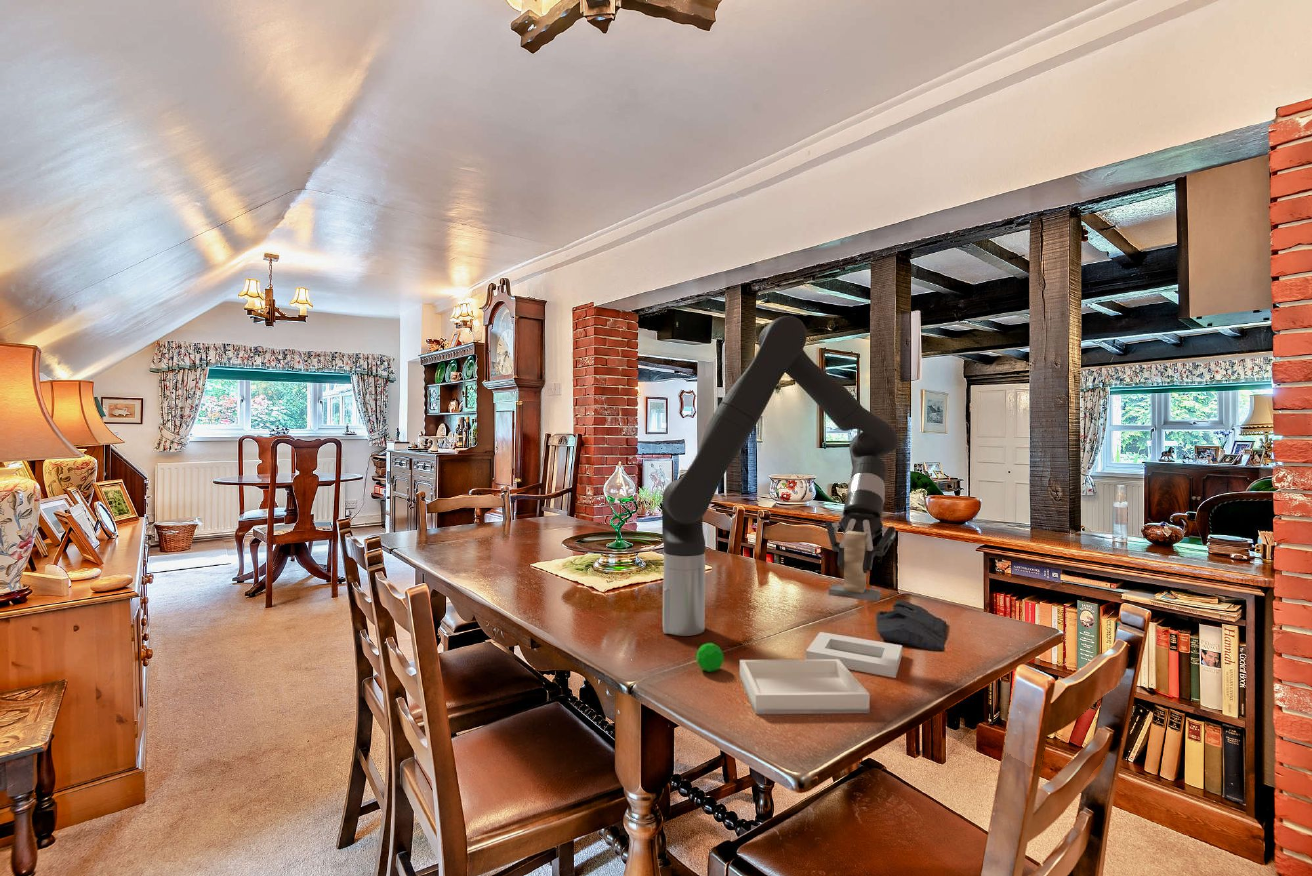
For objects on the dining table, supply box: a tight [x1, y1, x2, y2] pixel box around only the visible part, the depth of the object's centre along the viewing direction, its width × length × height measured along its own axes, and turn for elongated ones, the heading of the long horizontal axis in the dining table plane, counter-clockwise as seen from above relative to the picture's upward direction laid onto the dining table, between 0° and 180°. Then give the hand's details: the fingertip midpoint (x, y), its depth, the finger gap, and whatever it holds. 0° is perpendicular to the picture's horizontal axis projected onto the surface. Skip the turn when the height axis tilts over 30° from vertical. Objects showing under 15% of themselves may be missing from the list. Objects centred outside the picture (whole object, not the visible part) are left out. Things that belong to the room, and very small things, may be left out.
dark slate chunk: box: [875, 598, 948, 652], centre depth 130 cm, size 15×22×5 cm
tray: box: [739, 658, 871, 715], centre depth 99 cm, size 18×14×3 cm
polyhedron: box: [695, 642, 725, 673], centre depth 108 cm, size 5×5×5 cm
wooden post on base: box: [828, 531, 882, 603], centre depth 114 cm, size 9×4×12 cm, turn 62°
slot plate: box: [805, 631, 903, 679], centre depth 114 cm, size 16×12×2 cm
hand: (853, 569), depth 112 cm, fingers closed on wooden post on base, 3 cm apart
